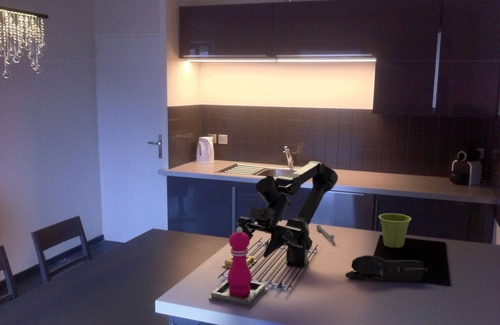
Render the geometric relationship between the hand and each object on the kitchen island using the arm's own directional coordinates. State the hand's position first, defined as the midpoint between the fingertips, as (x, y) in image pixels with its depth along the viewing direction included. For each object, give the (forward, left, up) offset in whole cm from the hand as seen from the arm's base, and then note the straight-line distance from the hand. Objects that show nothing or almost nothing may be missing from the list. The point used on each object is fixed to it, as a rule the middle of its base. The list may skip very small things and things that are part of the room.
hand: (252, 253), depth 135 cm
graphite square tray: (+2, +6, -11) cm, 13 cm away
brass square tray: (+12, -15, -11) cm, 22 cm away
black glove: (-36, -24, -11) cm, 44 cm away
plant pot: (-34, -57, -11) cm, 68 cm away
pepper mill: (+2, +5, -11) cm, 12 cm away
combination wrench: (-8, -56, -11) cm, 57 cm away
